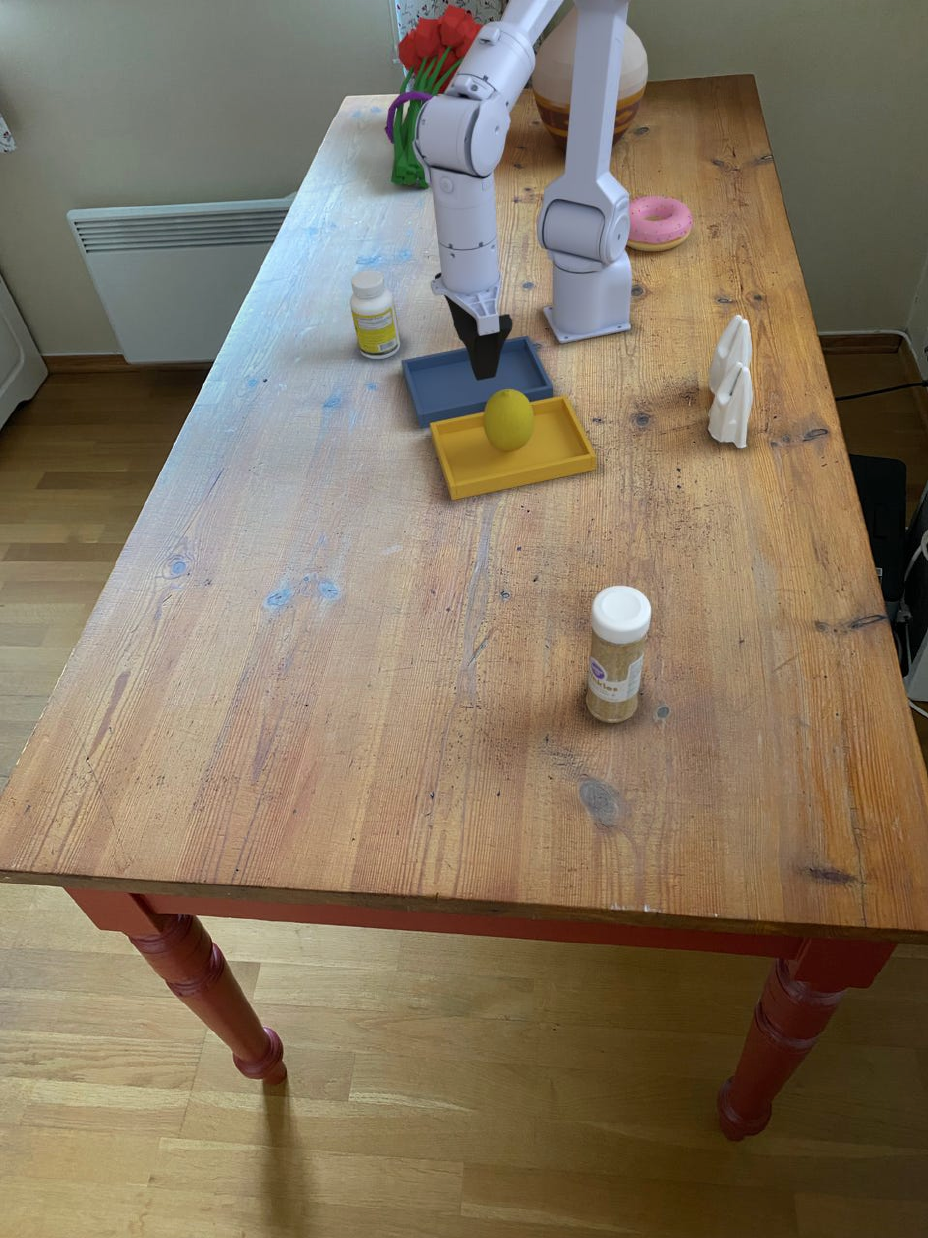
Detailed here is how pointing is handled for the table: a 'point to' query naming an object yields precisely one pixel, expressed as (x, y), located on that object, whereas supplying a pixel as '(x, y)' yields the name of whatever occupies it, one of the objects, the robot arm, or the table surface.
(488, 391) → the blue tray
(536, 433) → the yellow tray
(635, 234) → the doughnut
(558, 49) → the jug
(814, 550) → the table surface
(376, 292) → the supplement bottle
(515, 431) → the lemon
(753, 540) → the table surface
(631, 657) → the sprinkles bottle
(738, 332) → the shaker set
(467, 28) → the bouquet
